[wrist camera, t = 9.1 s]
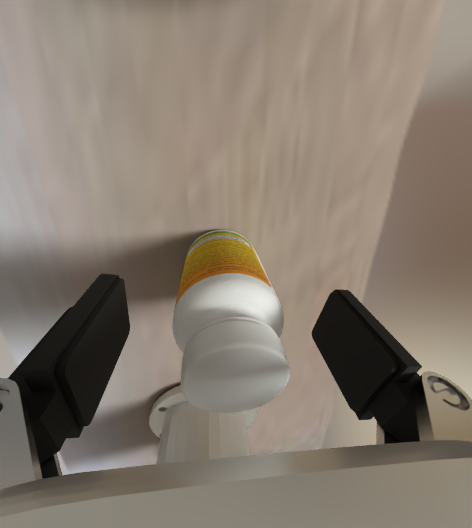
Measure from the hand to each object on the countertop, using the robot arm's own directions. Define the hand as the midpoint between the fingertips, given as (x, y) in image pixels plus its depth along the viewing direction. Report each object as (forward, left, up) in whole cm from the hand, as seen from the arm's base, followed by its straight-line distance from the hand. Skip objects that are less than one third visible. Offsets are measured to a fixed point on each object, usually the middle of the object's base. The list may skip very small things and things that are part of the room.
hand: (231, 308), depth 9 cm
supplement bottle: (-1, 0, -7) cm, 7 cm away
